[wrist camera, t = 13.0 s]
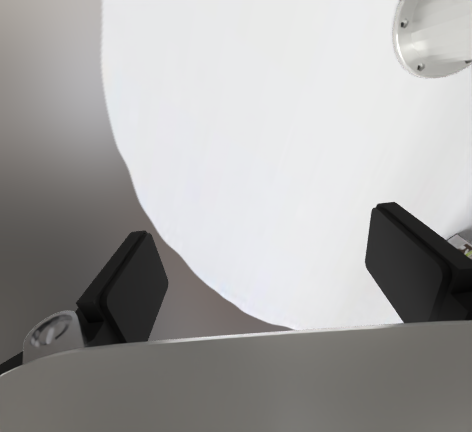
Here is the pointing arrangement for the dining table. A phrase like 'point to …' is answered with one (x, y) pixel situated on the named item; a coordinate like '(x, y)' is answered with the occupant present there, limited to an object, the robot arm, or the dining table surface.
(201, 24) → the dining table surface
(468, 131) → the dining table surface
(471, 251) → the coffee box
